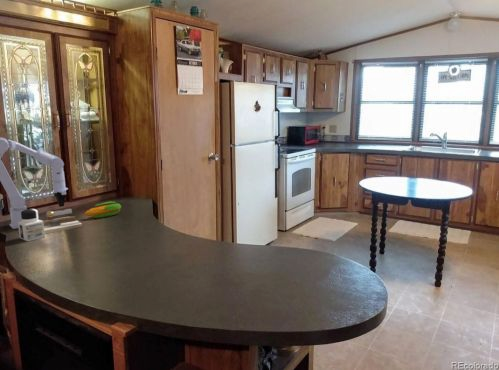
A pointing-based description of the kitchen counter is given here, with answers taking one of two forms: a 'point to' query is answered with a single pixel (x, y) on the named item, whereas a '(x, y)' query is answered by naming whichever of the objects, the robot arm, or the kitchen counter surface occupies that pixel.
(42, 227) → the container
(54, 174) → the robot arm
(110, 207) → the corn
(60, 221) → the brown-striped cream panel
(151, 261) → the kitchen counter surface
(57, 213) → the bar
